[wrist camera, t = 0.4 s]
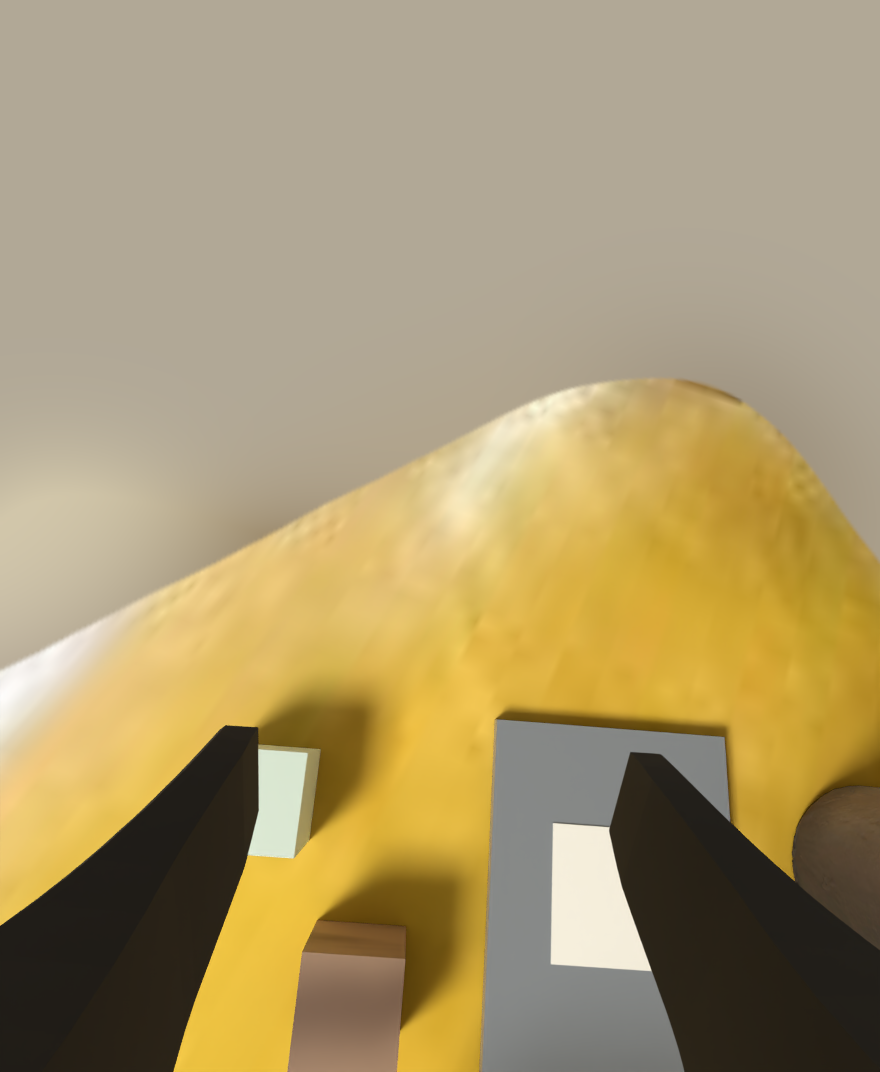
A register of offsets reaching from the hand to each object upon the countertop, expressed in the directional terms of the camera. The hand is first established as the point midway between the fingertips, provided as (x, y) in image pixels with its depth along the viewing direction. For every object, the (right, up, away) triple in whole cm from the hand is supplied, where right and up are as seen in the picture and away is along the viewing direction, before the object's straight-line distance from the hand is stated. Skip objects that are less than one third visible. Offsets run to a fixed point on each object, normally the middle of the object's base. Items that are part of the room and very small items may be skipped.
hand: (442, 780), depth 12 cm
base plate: (+10, -16, +23) cm, 30 cm away
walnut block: (-5, -19, +21) cm, 29 cm away
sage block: (-10, -10, +24) cm, 28 cm away
